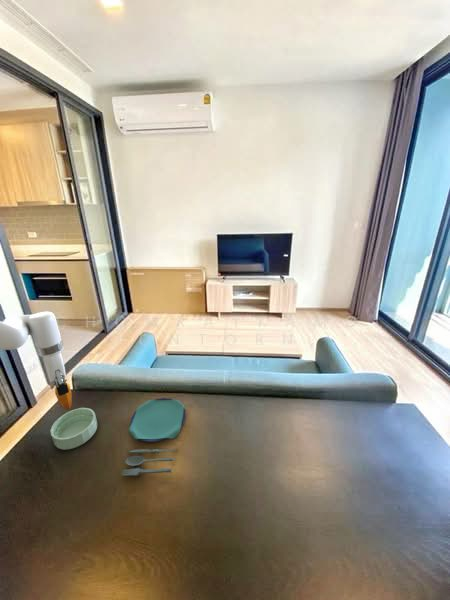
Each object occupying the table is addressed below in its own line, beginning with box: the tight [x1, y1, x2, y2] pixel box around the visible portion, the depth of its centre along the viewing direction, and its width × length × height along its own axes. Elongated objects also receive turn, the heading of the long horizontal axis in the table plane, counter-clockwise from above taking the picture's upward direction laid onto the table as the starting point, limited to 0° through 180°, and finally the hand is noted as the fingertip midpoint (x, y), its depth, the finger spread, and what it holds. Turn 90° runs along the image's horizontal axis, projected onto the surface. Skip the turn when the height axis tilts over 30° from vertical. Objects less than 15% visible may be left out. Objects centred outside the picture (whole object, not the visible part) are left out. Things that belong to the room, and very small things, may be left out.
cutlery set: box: [121, 397, 187, 477], centre depth 86 cm, size 20×30×2 cm, turn 1°
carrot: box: [54, 377, 73, 411], centre depth 93 cm, size 5×5×15 cm
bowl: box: [49, 407, 98, 451], centre depth 86 cm, size 13×13×5 cm
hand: (62, 389), depth 92 cm, fingers closed on carrot, 4 cm apart
